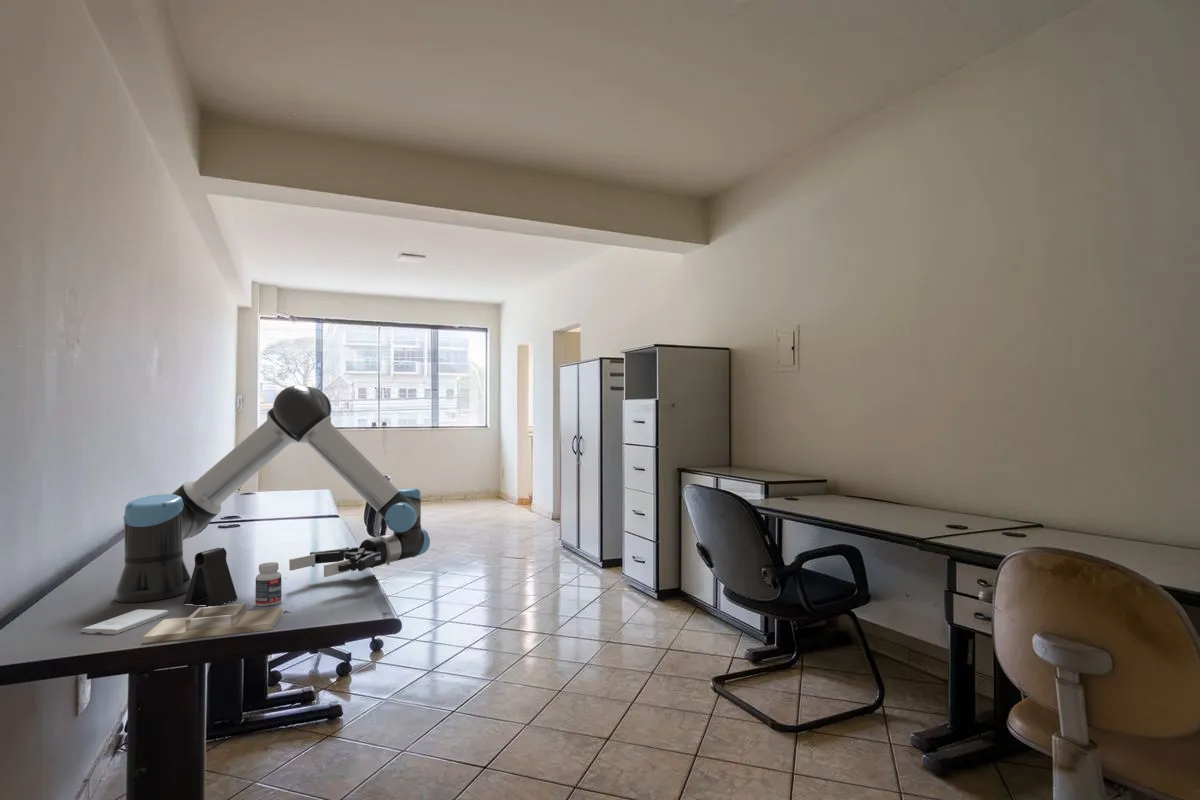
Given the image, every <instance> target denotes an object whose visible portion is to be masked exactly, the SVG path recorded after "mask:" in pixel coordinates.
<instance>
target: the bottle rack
mask: <svg viewBox="0 0 1200 800" xmlns="http://www.w3.org/2000/svg"><path fill="white" fill-rule="evenodd" d="M246 604H247V603H235V604H223V605H220V606H212V607H203V606H201V607H198V608H197V609H196V610H195V611H194V612H192V613H191V614H190V615H189V616H187V617H186V616H184V617H174V618H166V619H165V618H164V619H162V620H161V621H160V622H159V623H158V624H156V625H155V626H154V627H153V628H152V629H150V630H149V631H148V632H147V633H146V634H144V635H143V636H142V644H147V643H149V644H150V643H157V642H159V641H160V642H168V641H177V640H186V639H197V638H205V637H214V636H224V635H233V634H241V633H242V632H244V633H251V632H250V631H253V632H261V630H262V631H271V629H272V628H274V627H275V625H276V624H275V623H277V622H278V621H277V620H279V619H280V617H281V616H282V614H283V608H282V607H277V608H267V609H256V610H247V606H246ZM281 613H282V614H281ZM280 615H281V616H280ZM278 618H279V619H278ZM269 629H270V630H269ZM272 630H273V629H272Z"/></svg>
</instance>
